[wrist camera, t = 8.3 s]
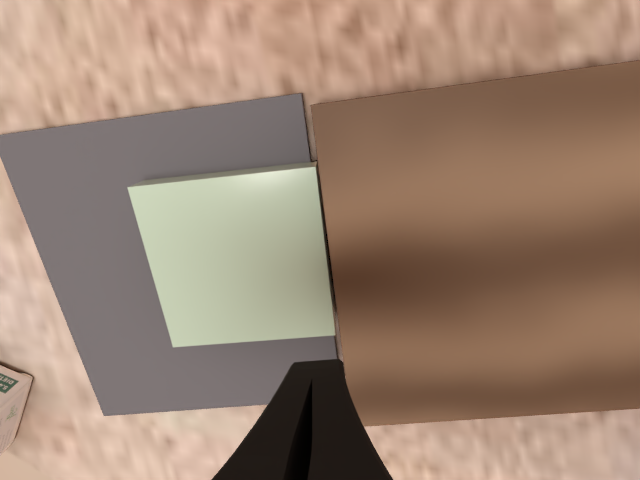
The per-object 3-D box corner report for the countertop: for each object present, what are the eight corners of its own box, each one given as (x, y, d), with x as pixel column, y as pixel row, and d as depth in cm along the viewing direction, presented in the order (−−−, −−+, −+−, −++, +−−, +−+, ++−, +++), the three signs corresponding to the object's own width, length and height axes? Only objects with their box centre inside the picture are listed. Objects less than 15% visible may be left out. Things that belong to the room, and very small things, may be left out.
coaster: (335, 318, 20) (335, 335, 18) (184, 330, 20) (173, 347, 19) (317, 161, 17) (315, 166, 16) (144, 180, 18) (127, 187, 16)
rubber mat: (342, 392, 22) (342, 398, 22) (108, 409, 23) (103, 416, 23) (302, 93, 17) (301, 93, 16) (1, 135, 18) (-8, 136, 17)
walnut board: (612, 365, 21) (656, 407, 18) (350, 384, 22) (352, 427, 19) (659, 57, 16) (729, 48, 13) (315, 104, 17) (310, 105, 14)
